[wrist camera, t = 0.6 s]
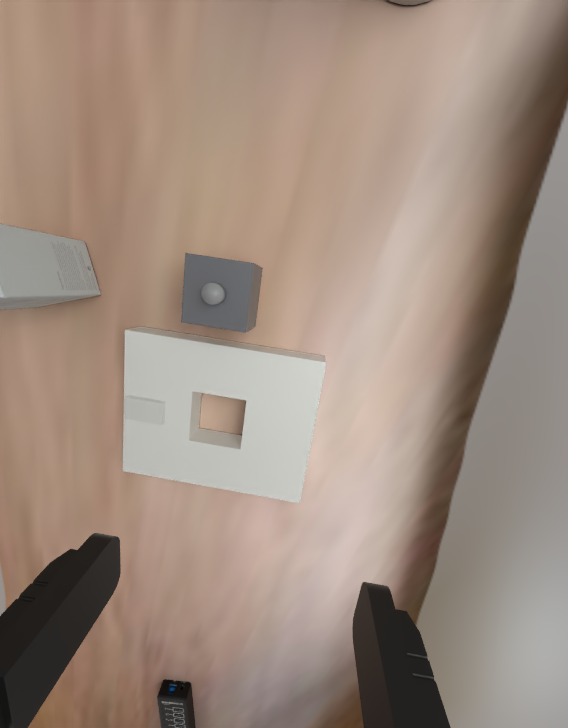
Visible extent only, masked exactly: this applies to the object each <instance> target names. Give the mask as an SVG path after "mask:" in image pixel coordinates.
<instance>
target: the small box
mask: <svg viewBox="0 0 568 728" xmlns="http://www.w3.org/2000/svg"><path fill="white" fill-rule="evenodd" d="M99 295H101V293H100V290H99V286H98V283H97V280H96V277H95V273H94V270H93V267H92V264H91V260H90V257H89V254H88V251H87V248H86V244H85V242H84V241H80V240H76V239H71V238H66V237H62V236H57V235H52V234H48V233H43V232H38V231H34V230H29V229H24V228H19V227H15V226H10V225H5V224H0V310H5V309H22V308H37V307H41V306H47V305H52V304H57V303H62V302H67V301H72V300H78V299H83V298H88V297H93V296H99Z"/></svg>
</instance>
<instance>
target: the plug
mask: <svg viewBox="0 0 568 728" xmlns="http://www.w3.org/2000/svg"><path fill="white" fill-rule="evenodd" d="M262 269H263V268H262V267H260V266H258V265H256V264H254V263H248V262H242V261H235V260H228V259H222V258H215V257H208V256H202V255H195V254H188V253H186V254H185V270H184V287H183V303H182V319H181V322H183V323H189V324H196V325H202V326H208V327H214V328H221V329H227V330H233V331H239V332H247V331H249V330H250V329H252V328H254V327H255V325H256V317H257V309H258V301H259V293H260V285H261V277H262Z"/></svg>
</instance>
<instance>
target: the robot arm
mask: <svg viewBox="0 0 568 728" xmlns="http://www.w3.org/2000/svg"><path fill="white" fill-rule="evenodd" d="M389 1H391V2H394V3H398V4H402V5H416V4H420V3H424V2H427V1H430V0H389ZM119 577H120V540H119V538H118V537H115V536H110V535H104V534H99V533H94V534H92V535H91V536H90V537H89V538H88V539H87V540H86V541H85V542H84V544H83V545H82V546H81V547H80V548H79V549H78V550H73V549H70V550H68V551H67V552H65V553H64V554H62V555H61V556H59V557H58V558H56V559H55V560H54V561H52V562H51V563H50V564H49V565H48V566H47V567H46V568H45V569H44V570H43V571H42V572H41V573H40V574H39V575H38V576H37V577H36V579H35V580H34V582H33V583H32V584H30V585H29V586H28V587H27V588H26V589H25V590H24V591H23V592H22V593H21V595H20V597H19V598H18V599H16V600H15V601H14V602H13V603H12V604H11V605H10V606H9V607H8V608H7V609H6V611H5V612H4V613H3V614H2V615H1V616H0V728H28V726H29V725H30V723H31V721H32V720H33V718H34V717H35V715H36V714H37V712H38V710H39V709H40V707H41V706H42V704H43V703H44V701H45V700H46V698H47V696H48V695H49V693H50V692H51V690H52V689H53V687H54V685H55V684H56V682H57V681H58V679H59V678H60V676H61V674H62V673H63V671H64V670H65V668H66V667H67V665H68V663H69V662H70V660H71V659H72V657H73V656H74V654H75V653H76V651H77V649H78V648H79V646H80V645H81V643H82V642H83V640H84V638H85V637H86V635H87V634H88V632H89V631H90V629H91V627H92V626H93V624H94V623H95V621H96V620H97V618H98V616H99V615H100V613H101V612H102V610H103V609H104V607H105V606H106V604H107V602H108V601H109V599H110V598H111V596H112V594H113V593H114V591H115V589H116V586H117V584H118V581H119ZM353 644H354V652H355V660H356V668H357V676H358V684H359V692H360V700H361V708H362V716H363V724H364V728H450V725H449V722H448V719H447V715H446V712H445V709H444V706H443V703H442V700H441V697H440V694H439V691H438V687H437V684H436V682H435V681H434V675H433V672H432V669H431V666H430V662H429V661H428V659H427V653H426V651H425V647H424V644H423V641H422V638H421V634H420V632H419V630H418V629H417V627H416V625H415V624H414V622H413V621H412V619H411V618H410V616H409V614H408V613H407V611H402V610H397V609H395V606H394V603H393V599H392V595H391V592H390V589H389V587H388V586H384V585H378V584H373V583H367V582H363V583H362V586H361V590H360V594H359V598H358V601H357V605H356V609H355V613H354V618H353Z"/></svg>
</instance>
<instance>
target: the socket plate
mask: <svg viewBox="0 0 568 728" xmlns="http://www.w3.org/2000/svg"><path fill="white" fill-rule="evenodd" d="M326 363H327V362H326V359H325V356H322V355H316V354H310V353H303V352H297V351H291V350H285V349H279V348H272V347H266V346H260V345H254V344H248V343H241V342H235V341H229V340H223V339H217V338H210V337H204V336H198V335H192V334H186V333H179V332H173V331H167V330H161V329H155V328H148V327H142V326H141V327H136V328H131V329H126V330H125V359H124V431H123V471H125V472H131V473H136V474H142V475H147V476H153V477H158V478H164V479H169V480H175V481H180V482H186V483H191V484H197V485H202V486H208V487H213V488H219V489H224V490H230V491H235V492H241V493H246V494H252V495H257V496H263V497H268V498H274V499H279V500H285V501H290V502H296V503H300V500H301V494H302V489H303V484H304V479H305V473H306V468H307V463H308V458H309V452H310V447H311V442H312V436H313V431H314V426H315V421H316V415H317V410H318V405H319V400H320V394H321V389H322V384H323V379H324V373H325V368H326ZM202 393H205V394H211V395H217V396H223V397H229V398H235V399H241V400H246V408H245V416H244V424H243V432H242V435H237V434H231V433H225V432H219V431H214V430H208V429H202V428H199V420H200V408H201V396H202Z"/></svg>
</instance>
